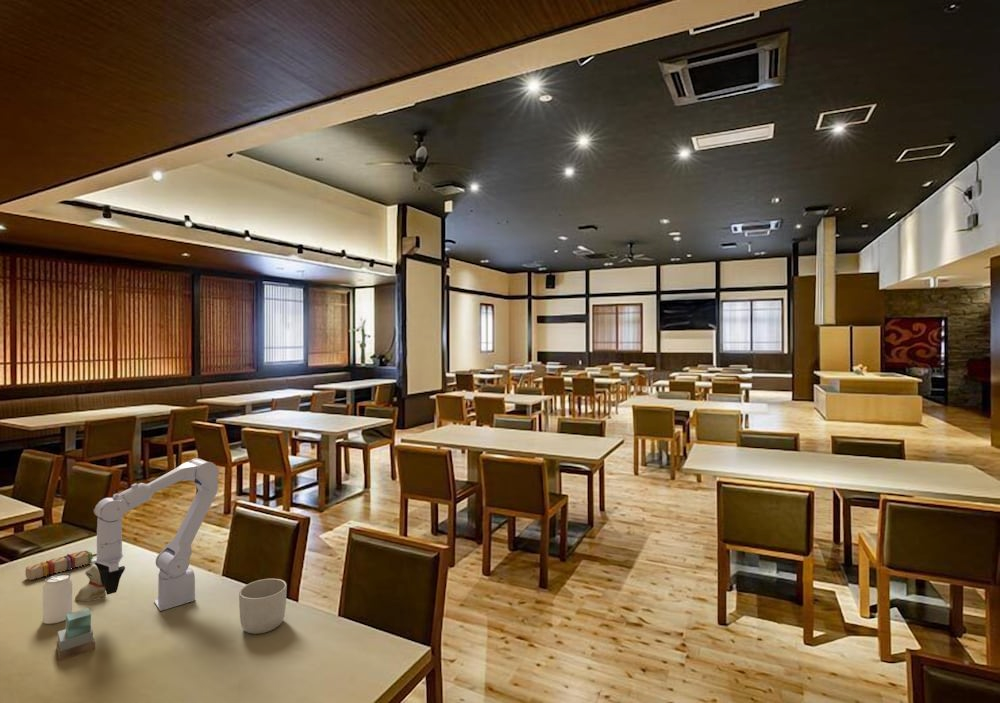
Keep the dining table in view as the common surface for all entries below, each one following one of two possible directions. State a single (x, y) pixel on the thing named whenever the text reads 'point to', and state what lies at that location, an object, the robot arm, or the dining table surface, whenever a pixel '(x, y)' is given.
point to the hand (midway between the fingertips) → (109, 588)
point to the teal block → (78, 623)
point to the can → (57, 598)
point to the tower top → (73, 639)
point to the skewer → (59, 564)
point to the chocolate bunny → (92, 586)
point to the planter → (262, 605)
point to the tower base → (75, 650)
